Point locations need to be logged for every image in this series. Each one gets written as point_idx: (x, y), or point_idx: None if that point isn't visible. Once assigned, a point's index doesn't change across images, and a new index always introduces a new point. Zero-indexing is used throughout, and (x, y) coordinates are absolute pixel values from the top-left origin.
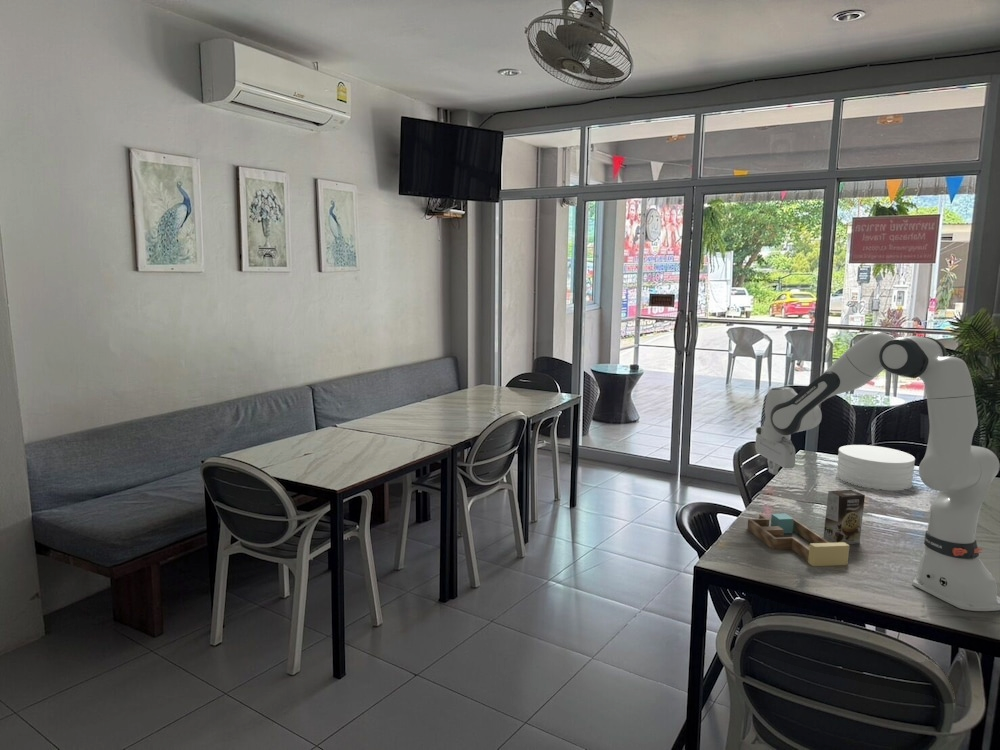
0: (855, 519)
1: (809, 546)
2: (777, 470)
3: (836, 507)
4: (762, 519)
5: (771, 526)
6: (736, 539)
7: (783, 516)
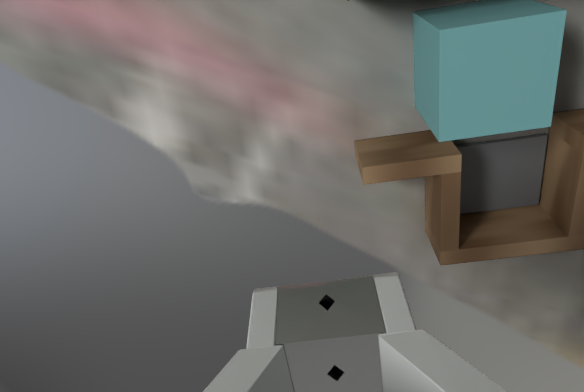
0: None
1: None
2: (413, 324)
3: None
4: (455, 194)
5: (578, 182)
6: (542, 305)
7: (502, 75)
